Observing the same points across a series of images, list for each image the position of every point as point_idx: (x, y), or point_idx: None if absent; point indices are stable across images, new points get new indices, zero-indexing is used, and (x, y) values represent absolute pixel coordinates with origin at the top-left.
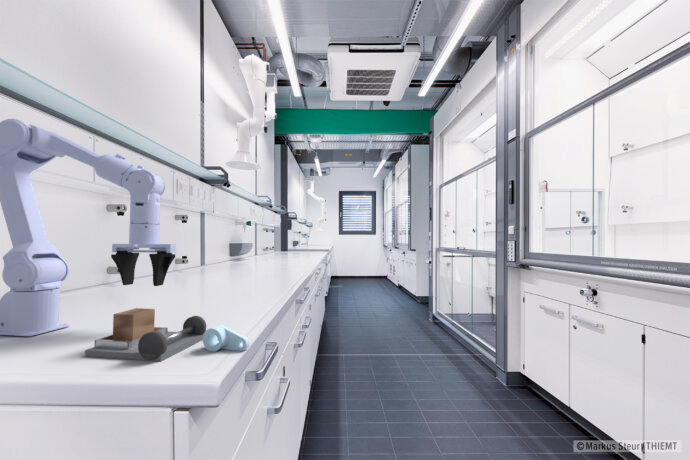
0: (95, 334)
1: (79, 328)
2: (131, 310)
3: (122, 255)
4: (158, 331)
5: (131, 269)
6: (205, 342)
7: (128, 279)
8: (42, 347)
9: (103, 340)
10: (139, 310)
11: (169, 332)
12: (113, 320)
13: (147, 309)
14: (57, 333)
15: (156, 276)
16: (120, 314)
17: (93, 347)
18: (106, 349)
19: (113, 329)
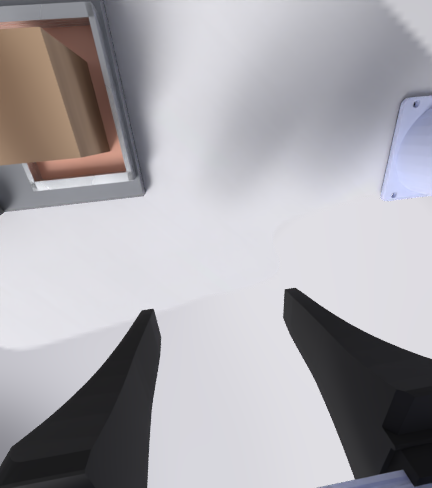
0: (264, 167)
1: (346, 196)
2: (49, 114)
3: (388, 411)
4: None
5: (316, 365)
6: None
7: (292, 315)
8: (293, 33)
9: (59, 6)
10: (20, 124)
11: (50, 198)
12: (51, 36)
13: (12, 150)
14: (362, 148)
15: (124, 338)
16: (3, 29)
17: (99, 10)
18: (40, 2)
19: (68, 49)
